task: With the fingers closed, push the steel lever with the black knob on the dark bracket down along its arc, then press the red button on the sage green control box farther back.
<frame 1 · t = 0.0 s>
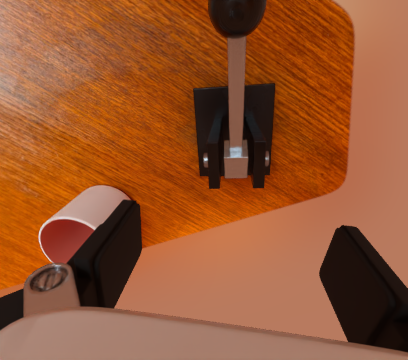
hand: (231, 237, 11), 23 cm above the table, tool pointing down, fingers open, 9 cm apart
cup: (111, 208, 40), on the table
bracket: (233, 132, 32), on the table
lever: (236, 101, 17), point 14 cm above the table, hinge at 25.0°
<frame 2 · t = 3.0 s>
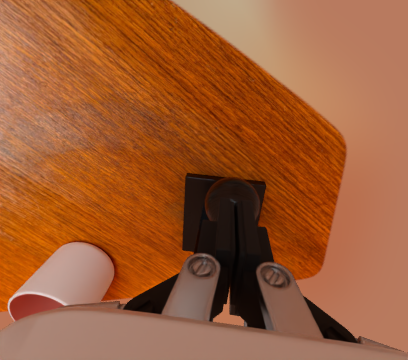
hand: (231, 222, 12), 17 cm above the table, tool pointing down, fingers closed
cup: (89, 260, 39), on the table
bracket: (220, 216, 32), on the table
lever: (222, 250, 18), point 13 cm above the table, hinge at 21.0°, touching gripper
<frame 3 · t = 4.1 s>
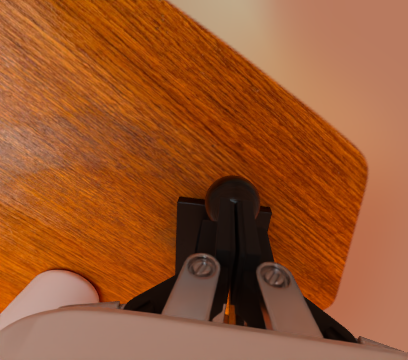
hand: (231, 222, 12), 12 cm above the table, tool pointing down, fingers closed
cup: (71, 288, 35), on the table
bracket: (218, 244, 28), on the table
lever: (221, 279, 16), point 11 cm above the table, hinge at -3.7°, touching gripper
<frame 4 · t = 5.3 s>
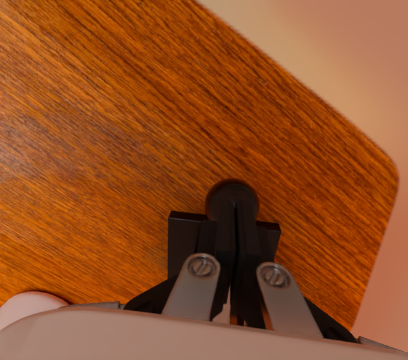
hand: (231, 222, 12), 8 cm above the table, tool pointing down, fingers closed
cup: (50, 311, 31), on the table
bracket: (217, 264, 24), on the table
lever: (220, 303, 14), point 9 cm above the table, hinge at -23.6°, touching gripper
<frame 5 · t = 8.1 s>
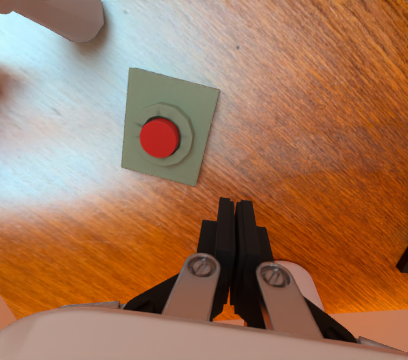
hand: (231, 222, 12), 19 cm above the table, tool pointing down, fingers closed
cup: (278, 278, 38), on the table
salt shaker: (87, 14, 25), on the table
button box: (169, 128, 29), on the table
button: (160, 138, 25), point 4 cm above the table, slide at 0.1 cm
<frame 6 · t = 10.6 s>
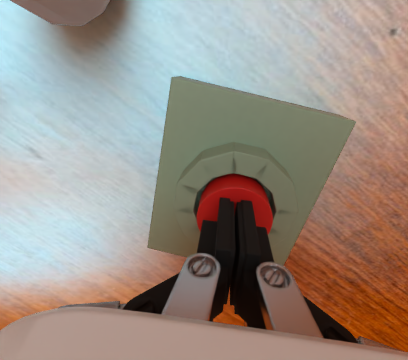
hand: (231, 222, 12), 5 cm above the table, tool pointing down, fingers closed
button box: (233, 181, 17), on the table
button: (233, 212, 13), point 4 cm above the table, slide at -0.3 cm, touching gripper
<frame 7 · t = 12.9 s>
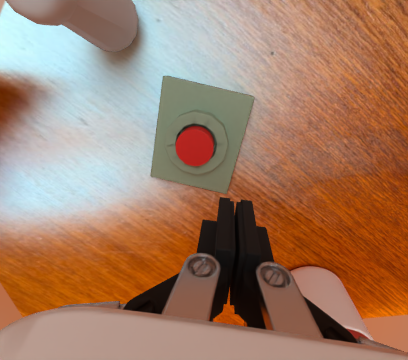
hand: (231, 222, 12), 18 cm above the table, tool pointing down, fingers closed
cup: (306, 284, 38), on the table
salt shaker: (119, 23, 25), on the table
button box: (199, 136, 29), on the table
button: (195, 146, 25), point 4 cm above the table, slide at 0.1 cm
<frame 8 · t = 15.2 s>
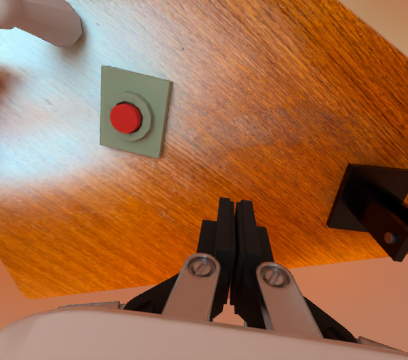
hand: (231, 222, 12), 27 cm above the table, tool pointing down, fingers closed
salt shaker: (69, 25, 33), on the table
button box: (137, 113, 38), on the table
bracket: (366, 198, 40), on the table
button: (126, 118, 33), point 4 cm above the table, slide at 0.1 cm
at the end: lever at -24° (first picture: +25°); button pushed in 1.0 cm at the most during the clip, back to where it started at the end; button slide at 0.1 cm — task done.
